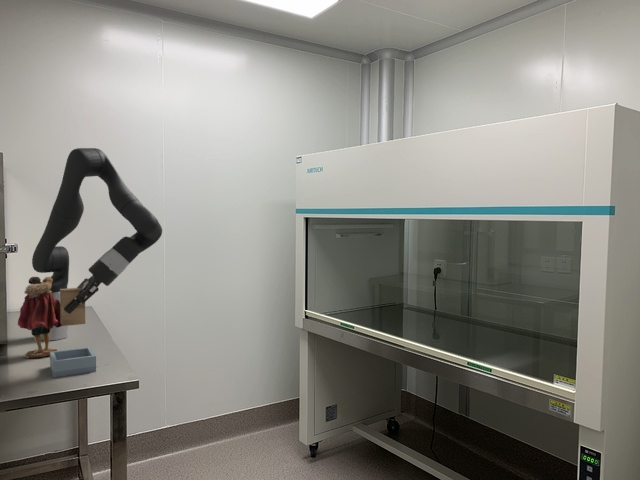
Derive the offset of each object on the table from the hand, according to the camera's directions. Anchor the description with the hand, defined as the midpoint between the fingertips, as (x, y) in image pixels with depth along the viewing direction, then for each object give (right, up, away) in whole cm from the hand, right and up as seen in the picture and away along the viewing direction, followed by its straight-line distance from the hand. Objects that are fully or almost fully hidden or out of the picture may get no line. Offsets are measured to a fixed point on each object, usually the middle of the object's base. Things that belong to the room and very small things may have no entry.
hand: (65, 309), depth 142 cm
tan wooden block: (+1, -4, +1) cm, 5 cm away
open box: (+1, -18, +2) cm, 18 cm away
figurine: (-16, -17, +16) cm, 28 cm away
